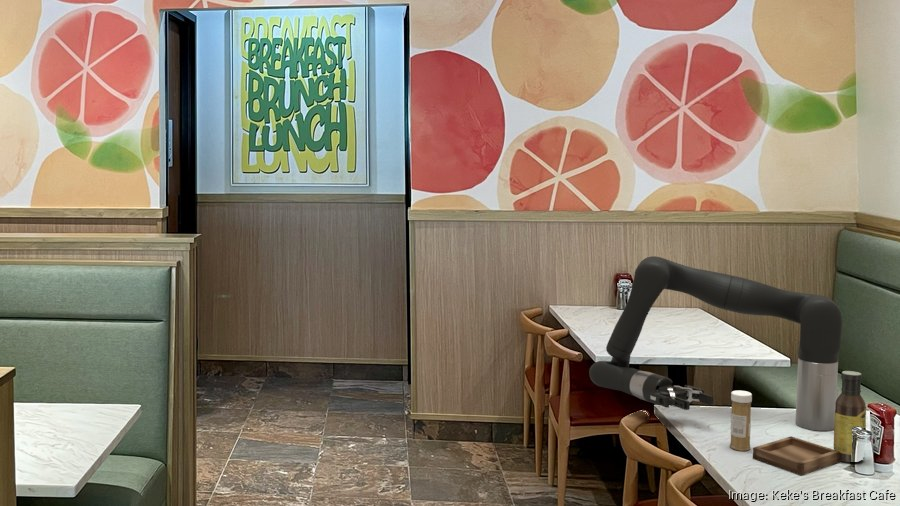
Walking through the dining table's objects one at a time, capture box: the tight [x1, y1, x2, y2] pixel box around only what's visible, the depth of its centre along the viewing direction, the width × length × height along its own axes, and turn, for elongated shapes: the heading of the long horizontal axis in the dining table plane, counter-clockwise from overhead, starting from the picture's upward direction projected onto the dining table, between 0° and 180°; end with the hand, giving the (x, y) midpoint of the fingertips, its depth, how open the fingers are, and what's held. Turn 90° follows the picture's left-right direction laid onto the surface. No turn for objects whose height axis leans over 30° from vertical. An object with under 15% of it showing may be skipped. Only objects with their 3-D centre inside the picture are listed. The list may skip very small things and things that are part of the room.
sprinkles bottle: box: [729, 389, 753, 452], centre depth 181 cm, size 5×5×13 cm
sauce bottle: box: [833, 370, 867, 463], centre depth 173 cm, size 6×6×20 cm
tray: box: [752, 436, 840, 476], centre depth 173 cm, size 14×12×2 cm
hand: (700, 403), depth 190 cm, fingers open, 8 cm apart
